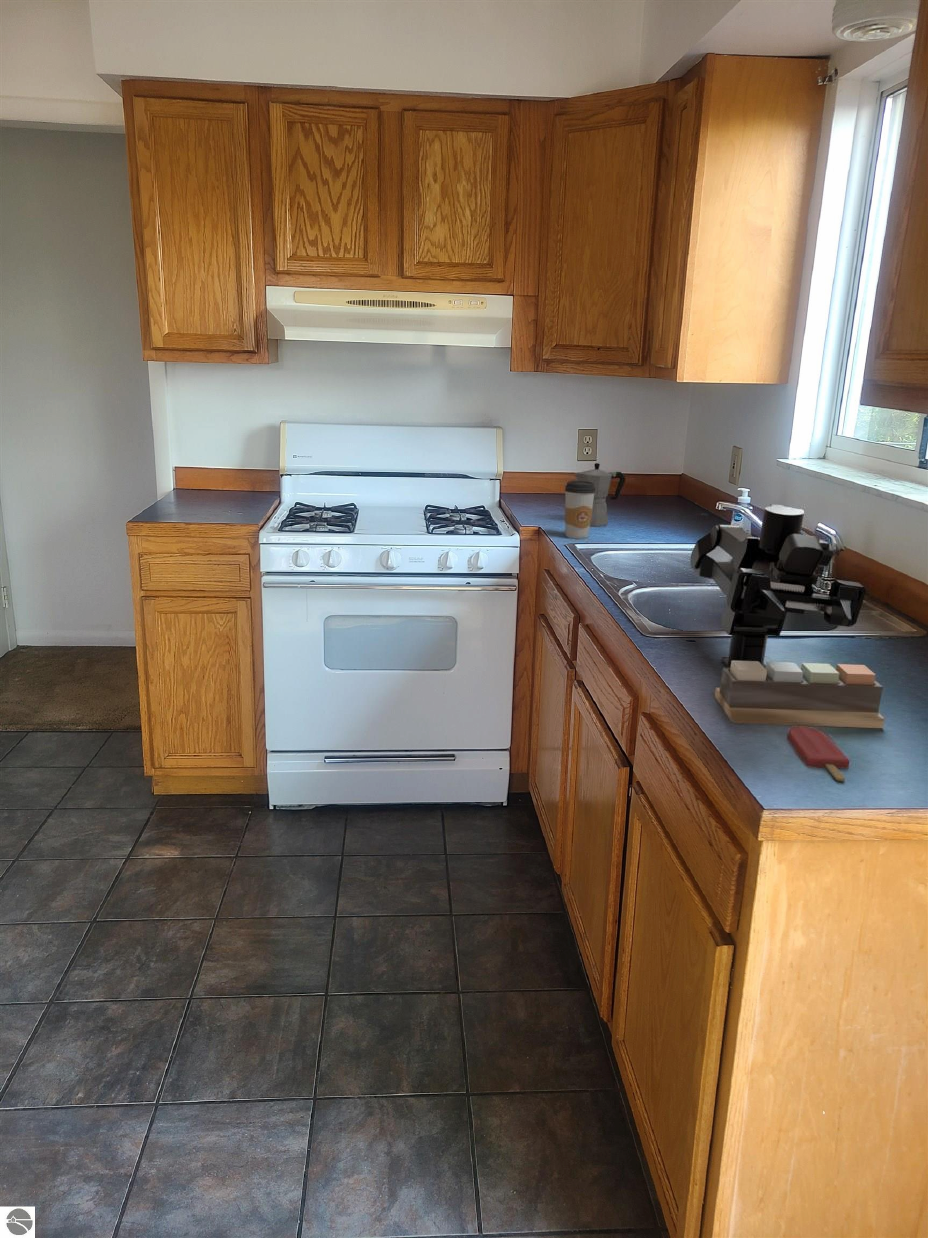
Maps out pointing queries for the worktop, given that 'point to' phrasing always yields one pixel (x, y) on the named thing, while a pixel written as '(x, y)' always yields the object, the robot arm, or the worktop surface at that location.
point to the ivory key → (748, 670)
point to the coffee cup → (578, 508)
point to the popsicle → (818, 750)
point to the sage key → (819, 673)
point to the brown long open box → (800, 702)
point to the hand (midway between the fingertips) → (816, 619)
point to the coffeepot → (601, 492)
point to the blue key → (784, 672)
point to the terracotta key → (855, 674)
